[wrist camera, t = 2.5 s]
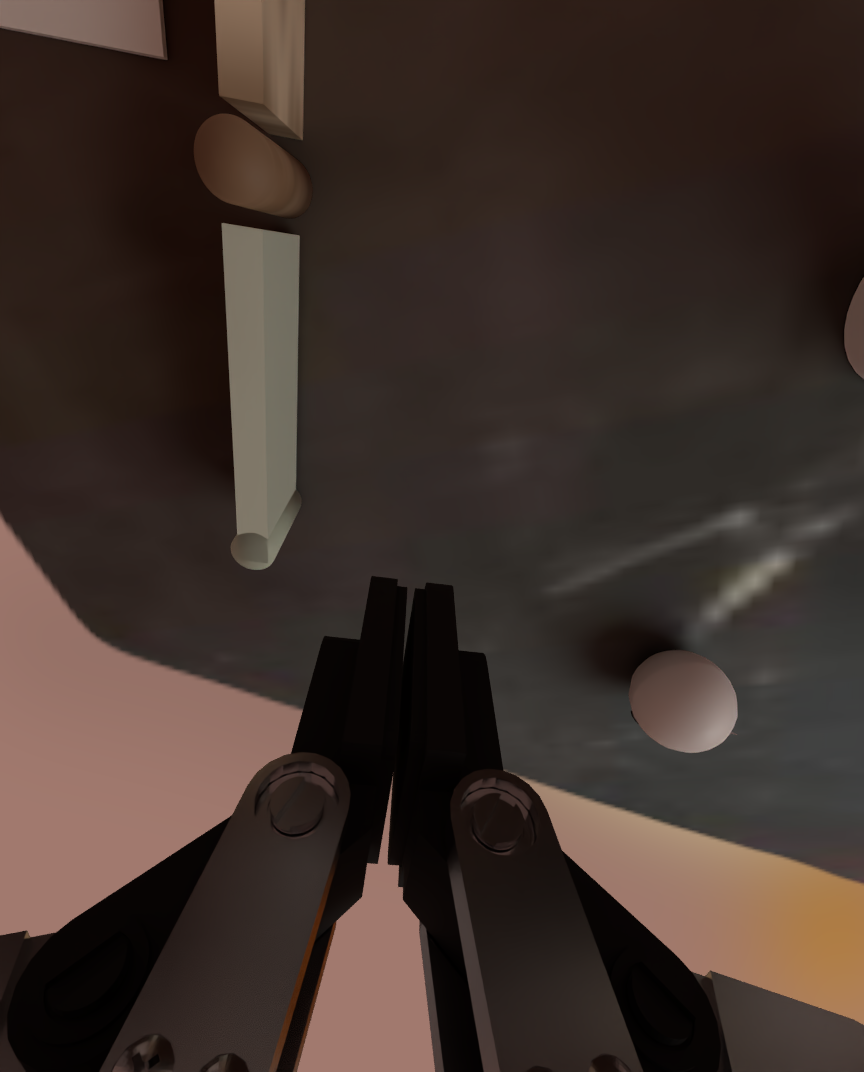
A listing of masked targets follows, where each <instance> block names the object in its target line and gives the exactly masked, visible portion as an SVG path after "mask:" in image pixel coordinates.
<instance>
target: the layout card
mask: <svg viewBox="0 0 864 1072" xmlns="http://www.w3.org/2000/svg"><path fill="white" fill-rule="evenodd" d="M0 28H3V29H8V30H14V31H19V32H24V33H29V34H34V35H39V36H44V37H50V38H55V39H60V40H65V41H70V42H75V43H81V44H86V45H91V46H96V47H101V48H106V49H111V50H117V51H122V52H127V53H132V54H137V55H142V56H148V57H153V58H158V59H163V60H168V58H167V47H166V35H165V23H164V11H163V0H0Z"/></svg>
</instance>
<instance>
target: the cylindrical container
mask: <svg viewBox="0 0 864 1072" xmlns="http://www.w3.org/2000/svg"><path fill="white" fill-rule="evenodd" d="M844 347H845V350H846V354H847V357H848V361H849V362H850V364H851V366H852V367H853V369H854V370H855V372H856V373H857V374H858V375H860V376H861V377H862V378H863V379H864V277H863V278H862V280H861V282H860V284H859V286H858V288H857V290H856V292H855V294H854V296H853V298H852V301H851V304H850V307H849V309H848V312H847V317H846V322H845V328H844Z"/></svg>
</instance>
